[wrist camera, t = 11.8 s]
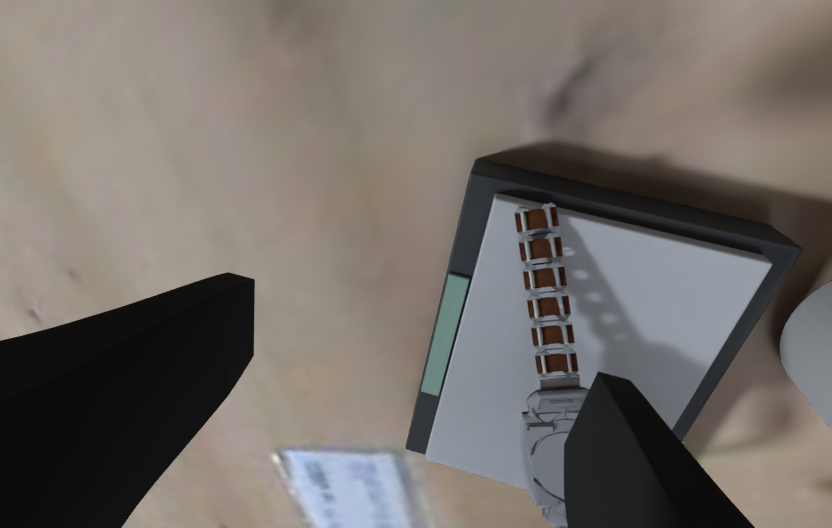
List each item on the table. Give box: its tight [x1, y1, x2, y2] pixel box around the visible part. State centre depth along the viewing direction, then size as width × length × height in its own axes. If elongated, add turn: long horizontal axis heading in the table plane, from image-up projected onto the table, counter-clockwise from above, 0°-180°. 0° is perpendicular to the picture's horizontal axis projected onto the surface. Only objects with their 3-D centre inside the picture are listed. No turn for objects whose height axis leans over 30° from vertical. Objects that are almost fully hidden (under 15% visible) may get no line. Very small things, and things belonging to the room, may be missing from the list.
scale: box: [406, 159, 802, 490], centre depth 19 cm, size 14×11×3 cm
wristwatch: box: [515, 202, 589, 528], centre depth 17 cm, size 4×14×5 cm, turn 14°
